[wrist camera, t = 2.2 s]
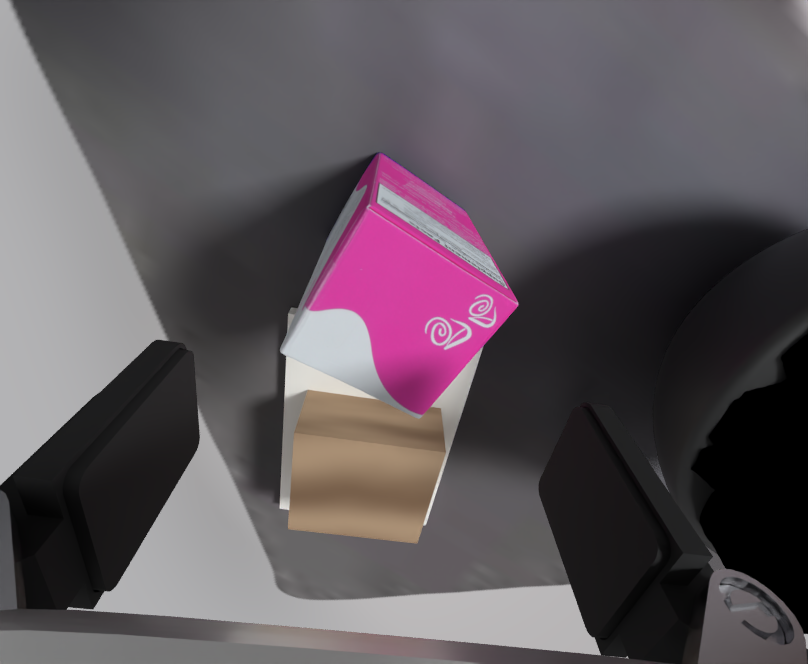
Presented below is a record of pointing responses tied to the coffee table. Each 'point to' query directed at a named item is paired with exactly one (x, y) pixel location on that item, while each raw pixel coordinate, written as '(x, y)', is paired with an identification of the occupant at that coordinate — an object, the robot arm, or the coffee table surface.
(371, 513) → the walnut block
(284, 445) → the board
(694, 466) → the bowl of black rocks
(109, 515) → the robot arm
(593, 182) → the coffee table surface
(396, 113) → the coffee table surface
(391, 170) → the supplement box
